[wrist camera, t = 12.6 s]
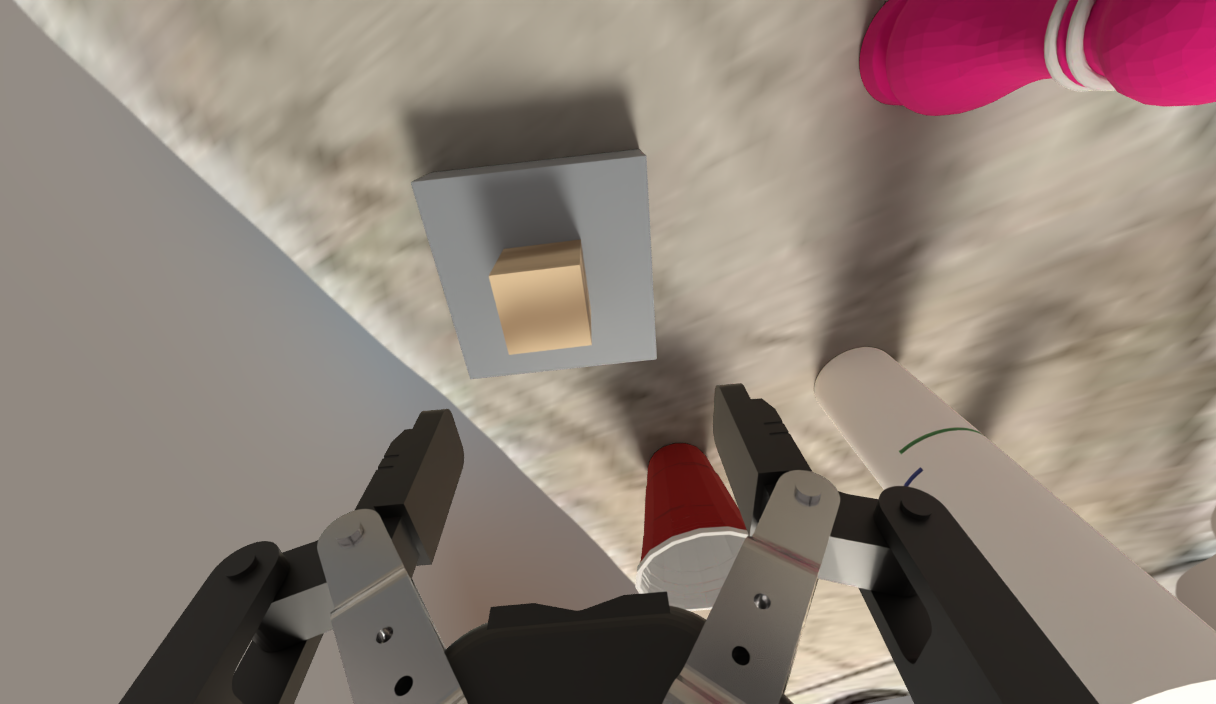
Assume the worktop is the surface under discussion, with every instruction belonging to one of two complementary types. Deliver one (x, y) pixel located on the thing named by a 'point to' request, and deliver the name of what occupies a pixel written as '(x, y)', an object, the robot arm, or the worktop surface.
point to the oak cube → (542, 297)
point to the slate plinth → (540, 214)
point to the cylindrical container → (1025, 537)
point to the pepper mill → (1038, 50)
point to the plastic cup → (687, 529)
